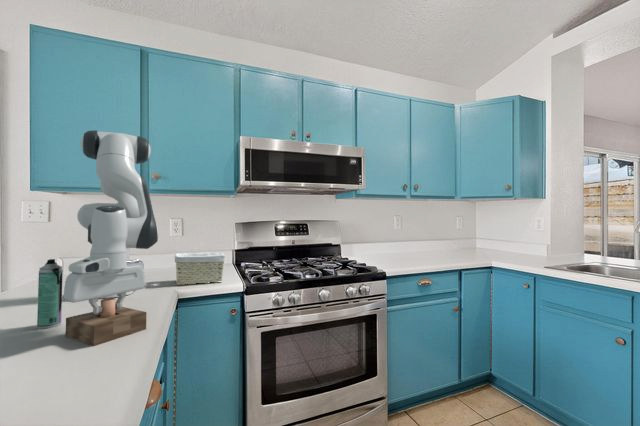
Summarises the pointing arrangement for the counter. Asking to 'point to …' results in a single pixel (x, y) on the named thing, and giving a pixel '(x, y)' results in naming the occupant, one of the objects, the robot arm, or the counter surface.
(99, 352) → the counter surface
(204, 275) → the storage basket
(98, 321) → the bore block
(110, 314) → the pin
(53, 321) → the spray can
